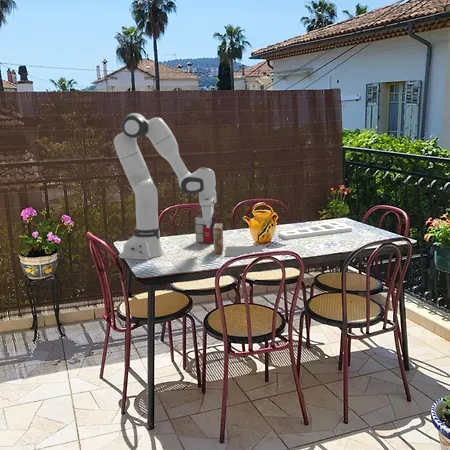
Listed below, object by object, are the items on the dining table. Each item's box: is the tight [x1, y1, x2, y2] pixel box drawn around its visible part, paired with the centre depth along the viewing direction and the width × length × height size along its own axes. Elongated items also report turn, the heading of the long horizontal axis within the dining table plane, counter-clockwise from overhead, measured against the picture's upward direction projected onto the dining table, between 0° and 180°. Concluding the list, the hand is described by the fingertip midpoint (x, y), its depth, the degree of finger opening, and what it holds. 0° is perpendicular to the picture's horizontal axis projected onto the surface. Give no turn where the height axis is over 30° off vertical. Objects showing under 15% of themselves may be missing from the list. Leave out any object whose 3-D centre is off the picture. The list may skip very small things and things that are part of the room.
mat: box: [224, 245, 266, 258], centre depth 246 cm, size 21×18×1 cm
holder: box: [277, 221, 353, 240], centre depth 284 cm, size 45×18×3 cm, turn 110°
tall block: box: [213, 222, 224, 256], centre depth 245 cm, size 4×11×14 cm, turn 177°
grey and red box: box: [194, 214, 216, 245], centre depth 264 cm, size 11×4×15 cm, turn 62°
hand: (209, 225), depth 244 cm, fingers open, 8 cm apart
